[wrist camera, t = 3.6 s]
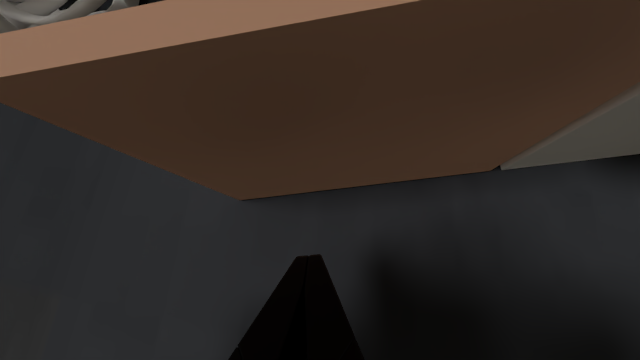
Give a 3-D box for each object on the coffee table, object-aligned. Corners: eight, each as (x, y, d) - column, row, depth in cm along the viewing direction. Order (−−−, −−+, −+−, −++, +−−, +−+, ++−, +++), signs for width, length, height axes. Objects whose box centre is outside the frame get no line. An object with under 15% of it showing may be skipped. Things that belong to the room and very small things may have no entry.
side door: (490, 170, 16) (935, -94, 4) (239, 200, 18) (-44, 85, 5) (486, 154, 16) (889, -146, 4) (239, 184, 18) (-32, 39, 6)
